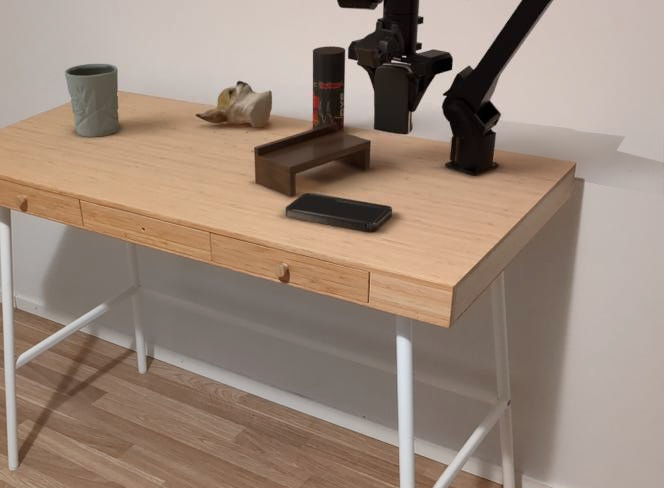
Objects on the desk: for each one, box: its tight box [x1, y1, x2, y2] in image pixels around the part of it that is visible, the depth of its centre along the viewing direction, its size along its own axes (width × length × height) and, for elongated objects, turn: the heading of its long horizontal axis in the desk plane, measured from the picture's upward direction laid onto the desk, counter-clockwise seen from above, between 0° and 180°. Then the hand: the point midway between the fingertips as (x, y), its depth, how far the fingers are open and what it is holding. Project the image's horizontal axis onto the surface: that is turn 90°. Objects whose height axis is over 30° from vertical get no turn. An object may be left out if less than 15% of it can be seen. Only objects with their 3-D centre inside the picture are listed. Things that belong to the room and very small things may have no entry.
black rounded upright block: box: [373, 61, 414, 136], centre depth 153 cm, size 7×4×11 cm, turn 50°
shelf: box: [253, 123, 372, 198], centre depth 150 cm, size 9×18×6 cm, turn 127°
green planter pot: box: [64, 63, 120, 138], centre depth 177 cm, size 10×10×12 cm
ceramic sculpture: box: [195, 80, 273, 128], centre depth 177 cm, size 11×9×15 cm
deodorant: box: [312, 45, 346, 132], centre depth 168 cm, size 6×6×15 cm
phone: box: [285, 192, 393, 233], centre depth 137 cm, size 8×1×15 cm
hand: (396, 107), depth 153 cm, fingers closed on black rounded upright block, 7 cm apart
